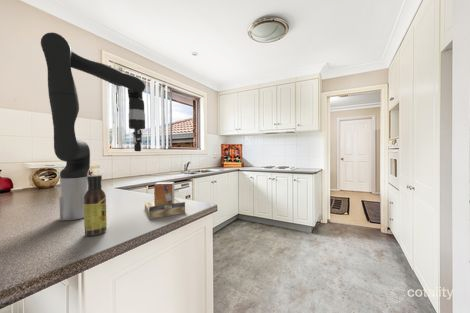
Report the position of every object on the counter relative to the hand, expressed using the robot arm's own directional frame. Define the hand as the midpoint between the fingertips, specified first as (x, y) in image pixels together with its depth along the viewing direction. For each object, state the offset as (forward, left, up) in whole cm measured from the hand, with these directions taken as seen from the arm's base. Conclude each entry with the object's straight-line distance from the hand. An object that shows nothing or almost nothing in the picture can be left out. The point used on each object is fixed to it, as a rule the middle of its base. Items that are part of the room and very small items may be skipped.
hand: (137, 151), depth 102 cm
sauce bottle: (-16, -30, -28) cm, 44 cm away
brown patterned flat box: (+10, -16, -28) cm, 34 cm away
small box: (+9, -18, -25) cm, 32 cm away
